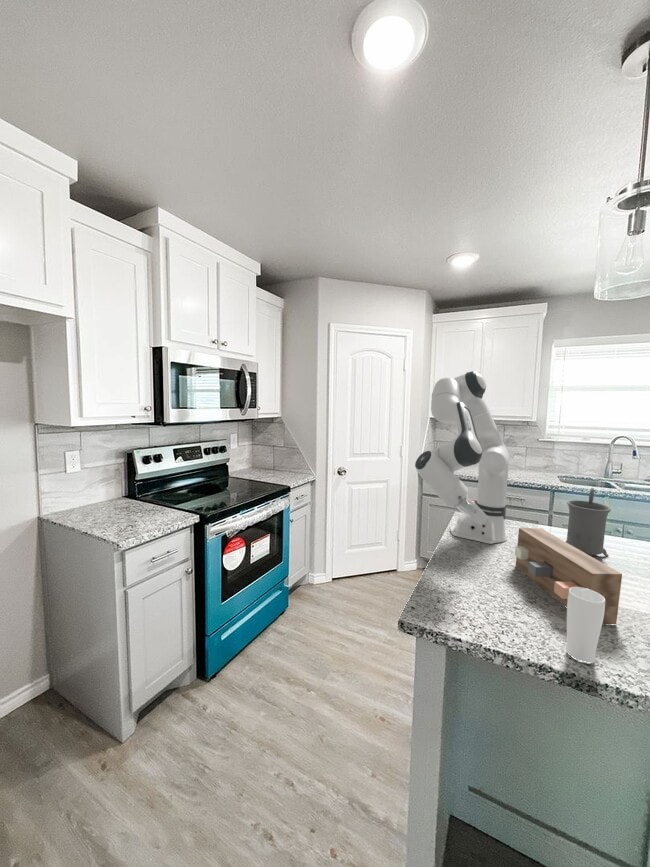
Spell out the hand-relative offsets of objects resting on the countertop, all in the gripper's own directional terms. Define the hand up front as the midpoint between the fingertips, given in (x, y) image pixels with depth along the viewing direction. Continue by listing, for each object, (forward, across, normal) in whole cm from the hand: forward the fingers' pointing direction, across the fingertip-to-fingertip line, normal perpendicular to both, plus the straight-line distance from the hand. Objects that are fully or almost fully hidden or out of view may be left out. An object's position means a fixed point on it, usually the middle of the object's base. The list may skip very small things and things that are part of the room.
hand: (480, 522), depth 120 cm
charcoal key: (+18, -12, -2) cm, 22 cm away
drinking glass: (+16, -40, +8) cm, 44 cm away
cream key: (+20, 0, -3) cm, 20 cm away
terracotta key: (+18, -24, -2) cm, 30 cm away
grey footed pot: (+48, +17, -24) cm, 56 cm away
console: (+26, -12, -2) cm, 29 cm away
